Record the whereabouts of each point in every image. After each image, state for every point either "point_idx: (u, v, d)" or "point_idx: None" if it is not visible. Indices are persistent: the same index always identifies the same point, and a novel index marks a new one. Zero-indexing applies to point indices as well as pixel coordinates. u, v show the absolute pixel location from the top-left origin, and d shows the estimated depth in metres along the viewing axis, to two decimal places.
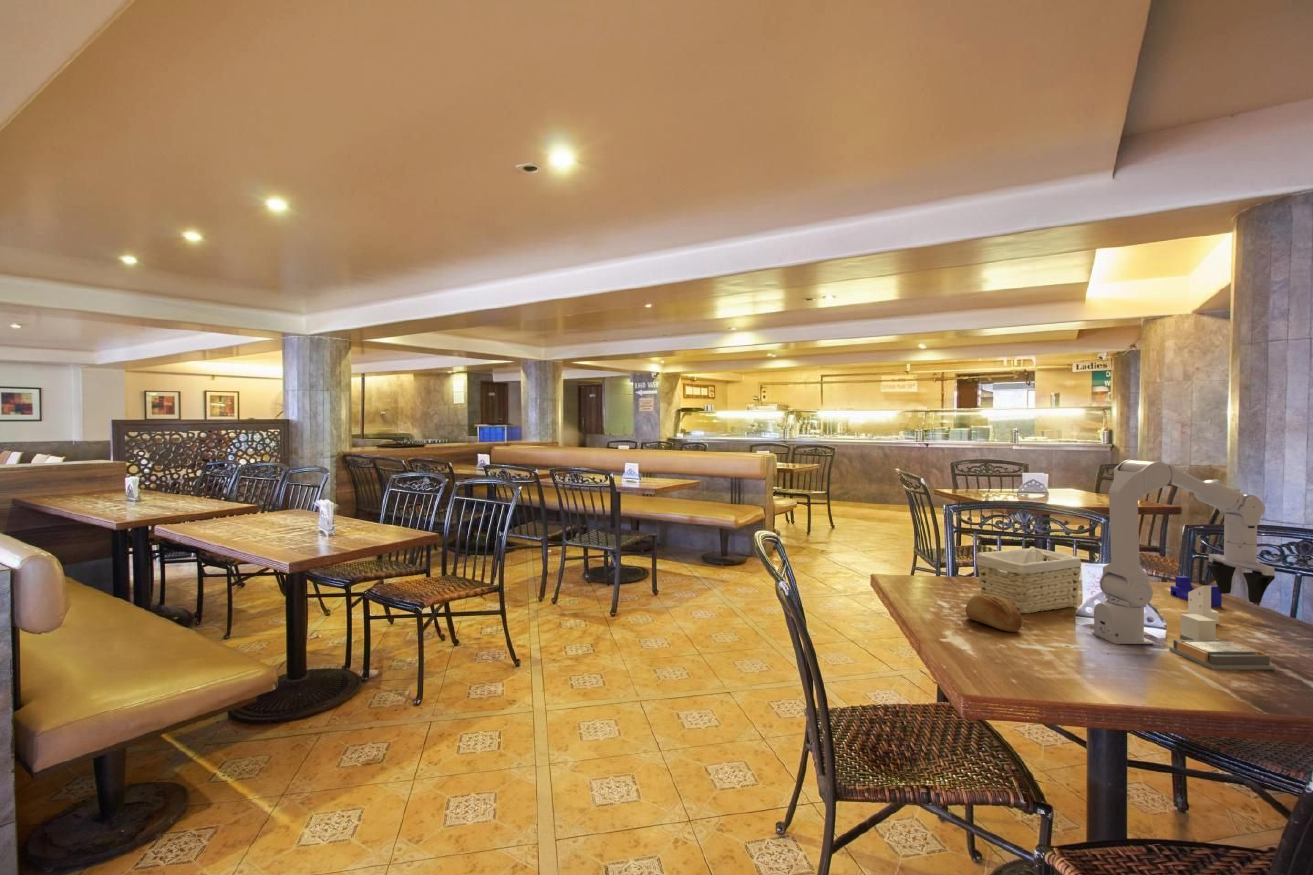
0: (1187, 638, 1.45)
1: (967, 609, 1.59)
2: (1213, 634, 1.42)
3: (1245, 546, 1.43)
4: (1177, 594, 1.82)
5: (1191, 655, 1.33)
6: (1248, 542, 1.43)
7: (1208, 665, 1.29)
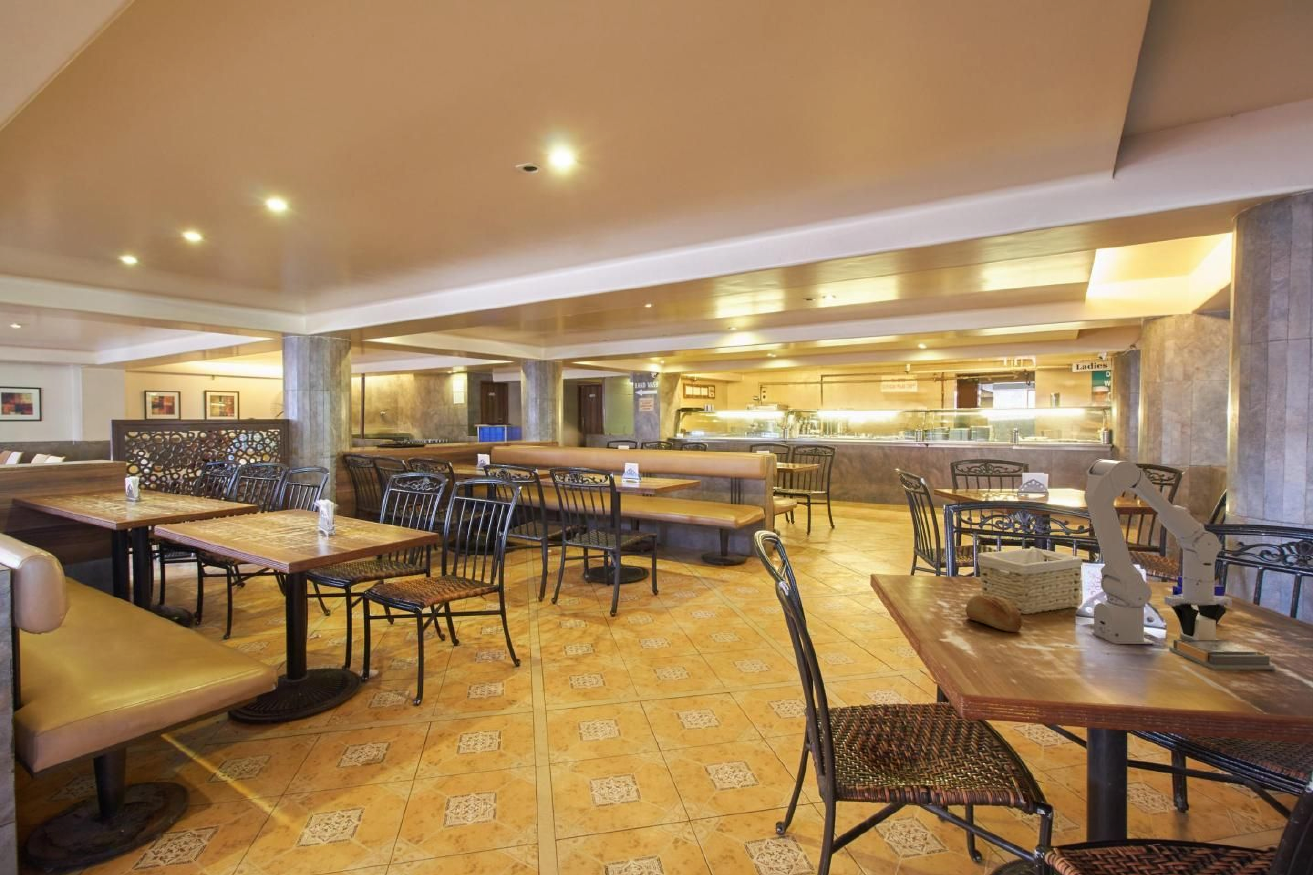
0: (1187, 638, 1.45)
1: (967, 609, 1.59)
2: (1213, 634, 1.42)
3: (1183, 579, 1.45)
4: (1179, 594, 1.82)
5: (1191, 655, 1.33)
6: (1203, 579, 1.41)
7: (1208, 665, 1.29)
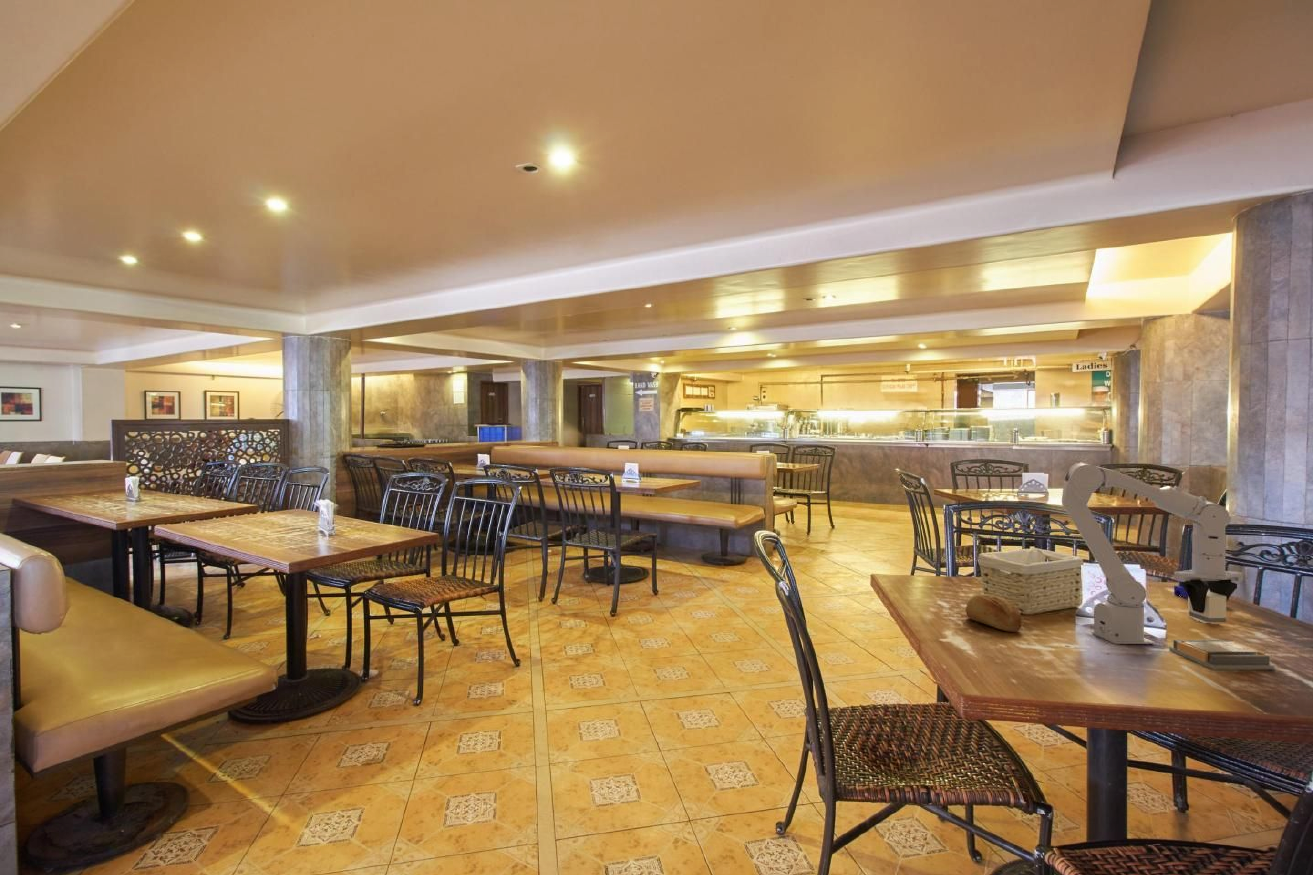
0: (1197, 615, 1.39)
1: (967, 609, 1.59)
2: (1224, 610, 1.36)
3: (1192, 554, 1.40)
4: (1181, 594, 1.82)
5: (1191, 655, 1.33)
6: (1208, 553, 1.36)
7: (1208, 665, 1.29)
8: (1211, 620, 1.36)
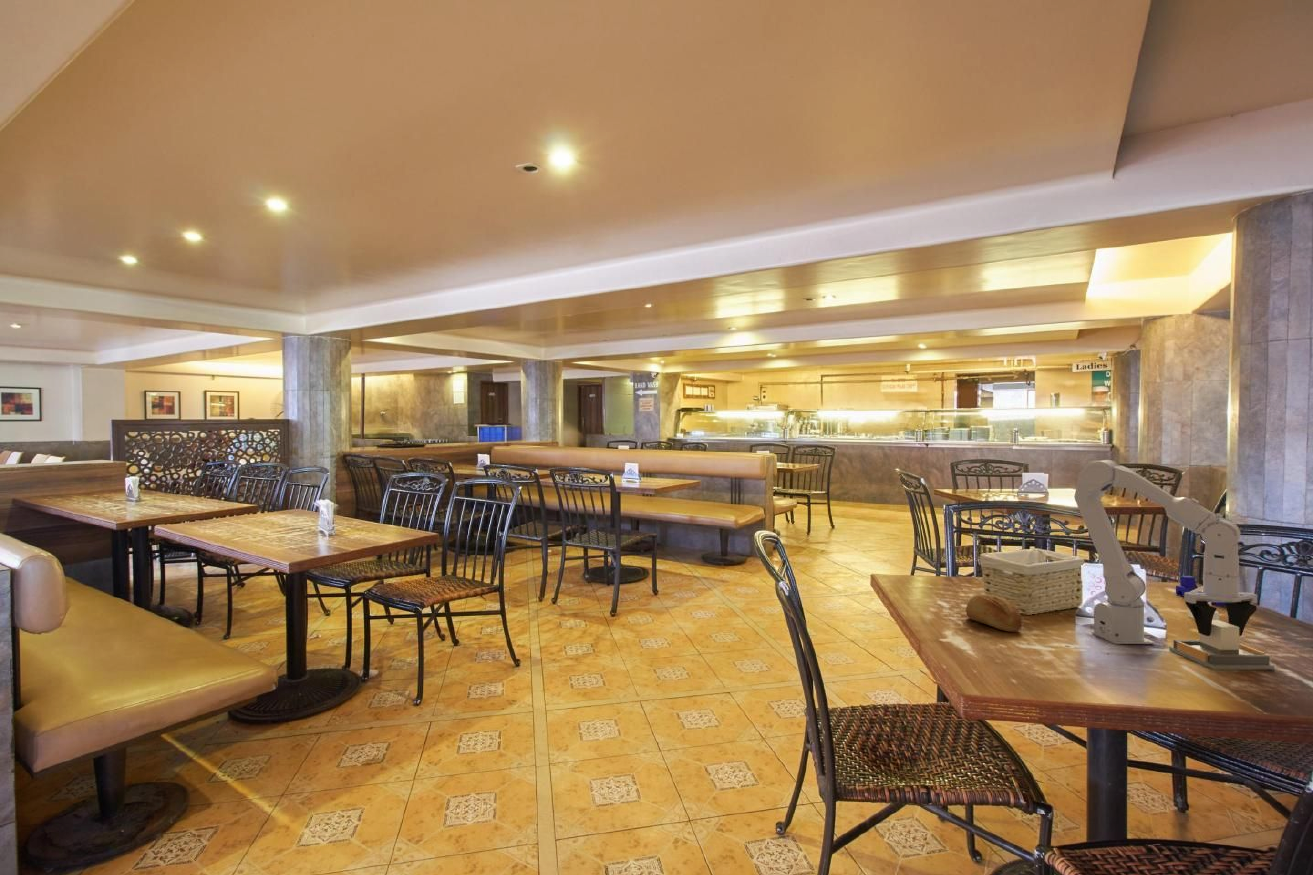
0: (1208, 646, 1.34)
1: (967, 609, 1.59)
2: (1236, 642, 1.31)
3: (1204, 574, 1.34)
4: (1183, 594, 1.82)
5: (1191, 655, 1.33)
6: (1214, 573, 1.32)
7: (1208, 665, 1.29)
8: (1223, 652, 1.31)
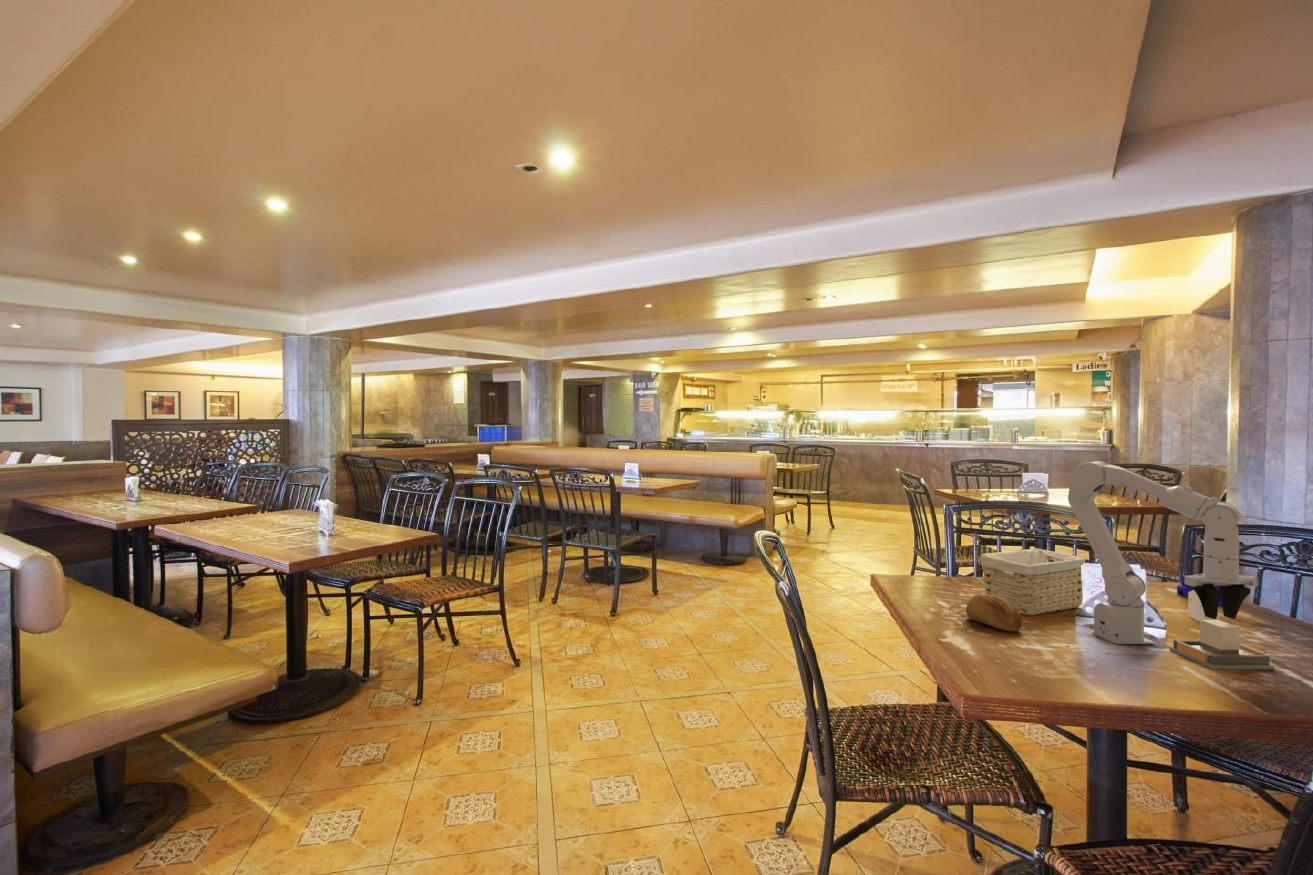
0: (1208, 646, 1.34)
1: (967, 609, 1.59)
2: (1236, 642, 1.31)
3: (1204, 558, 1.34)
4: (1184, 594, 1.82)
5: (1191, 655, 1.33)
6: (1214, 555, 1.31)
7: (1208, 665, 1.29)
8: (1223, 652, 1.31)
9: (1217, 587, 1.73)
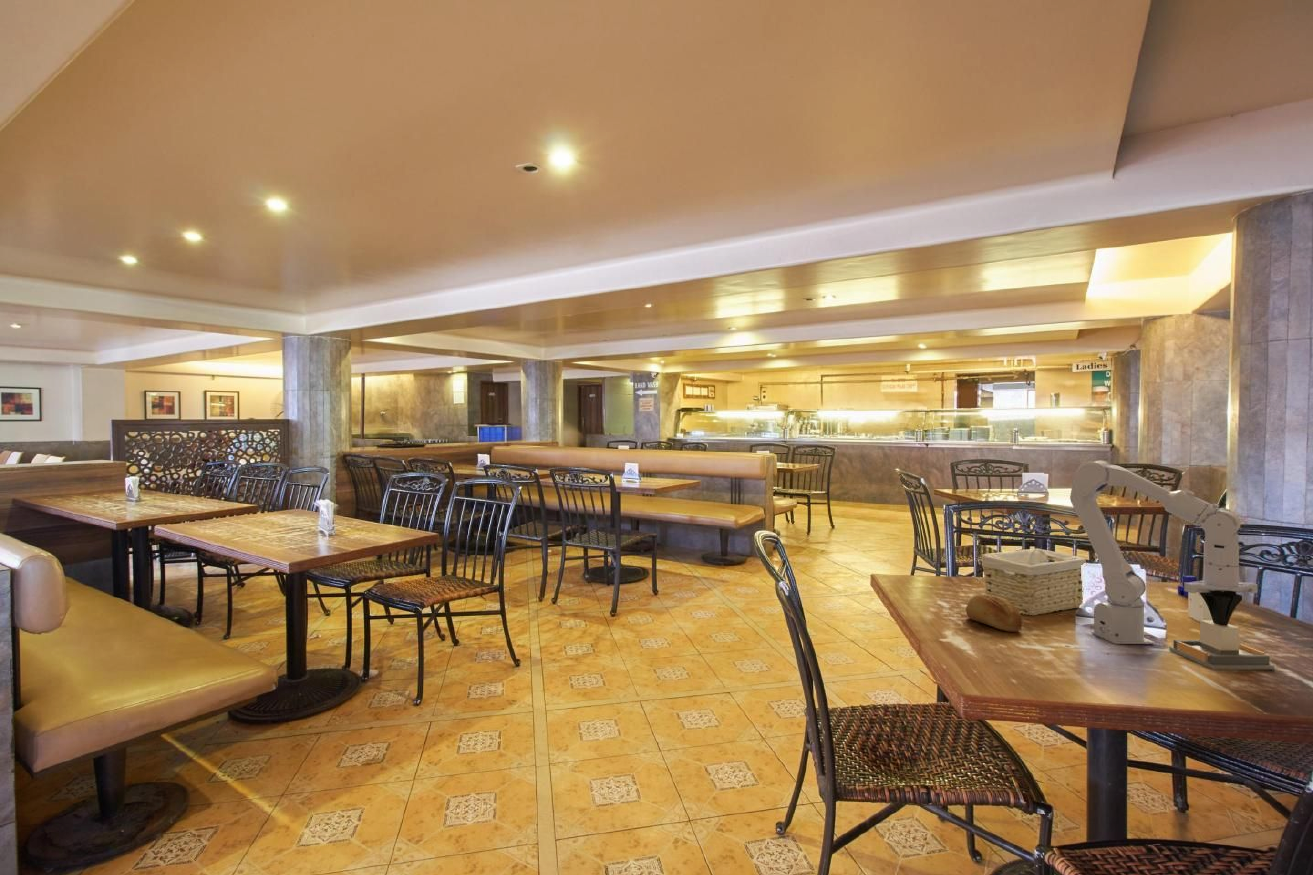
0: (1208, 646, 1.34)
1: (967, 609, 1.59)
2: (1236, 642, 1.31)
3: (1204, 564, 1.34)
4: (1185, 594, 1.82)
5: (1191, 655, 1.33)
6: (1214, 562, 1.31)
7: (1208, 665, 1.29)
8: (1223, 652, 1.31)
9: None
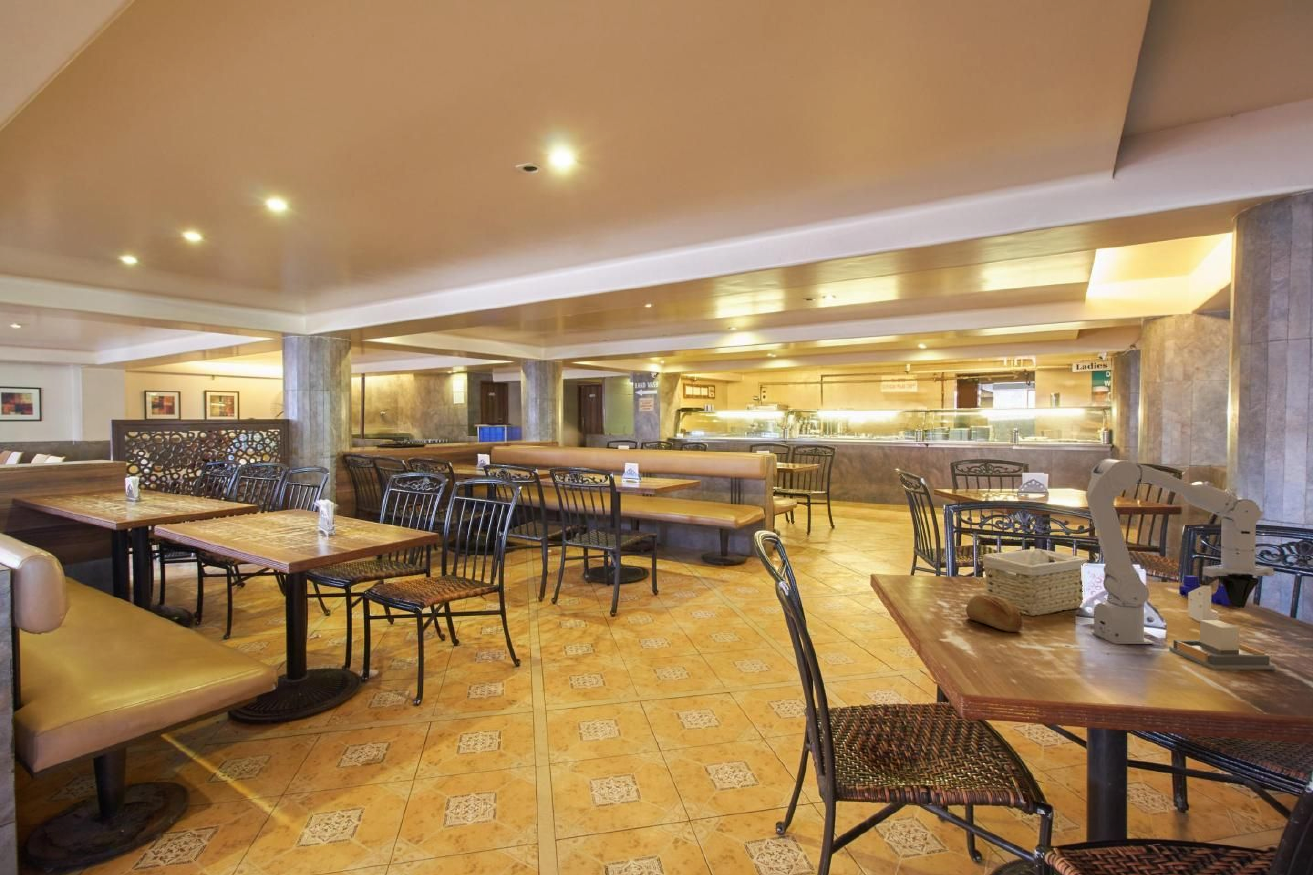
0: (1208, 646, 1.34)
1: (968, 609, 1.59)
2: (1236, 642, 1.31)
3: (1222, 549, 1.40)
4: (1186, 594, 1.82)
5: (1191, 655, 1.33)
6: (1241, 548, 1.36)
7: (1208, 665, 1.29)
8: (1223, 652, 1.31)
9: (1221, 587, 1.73)
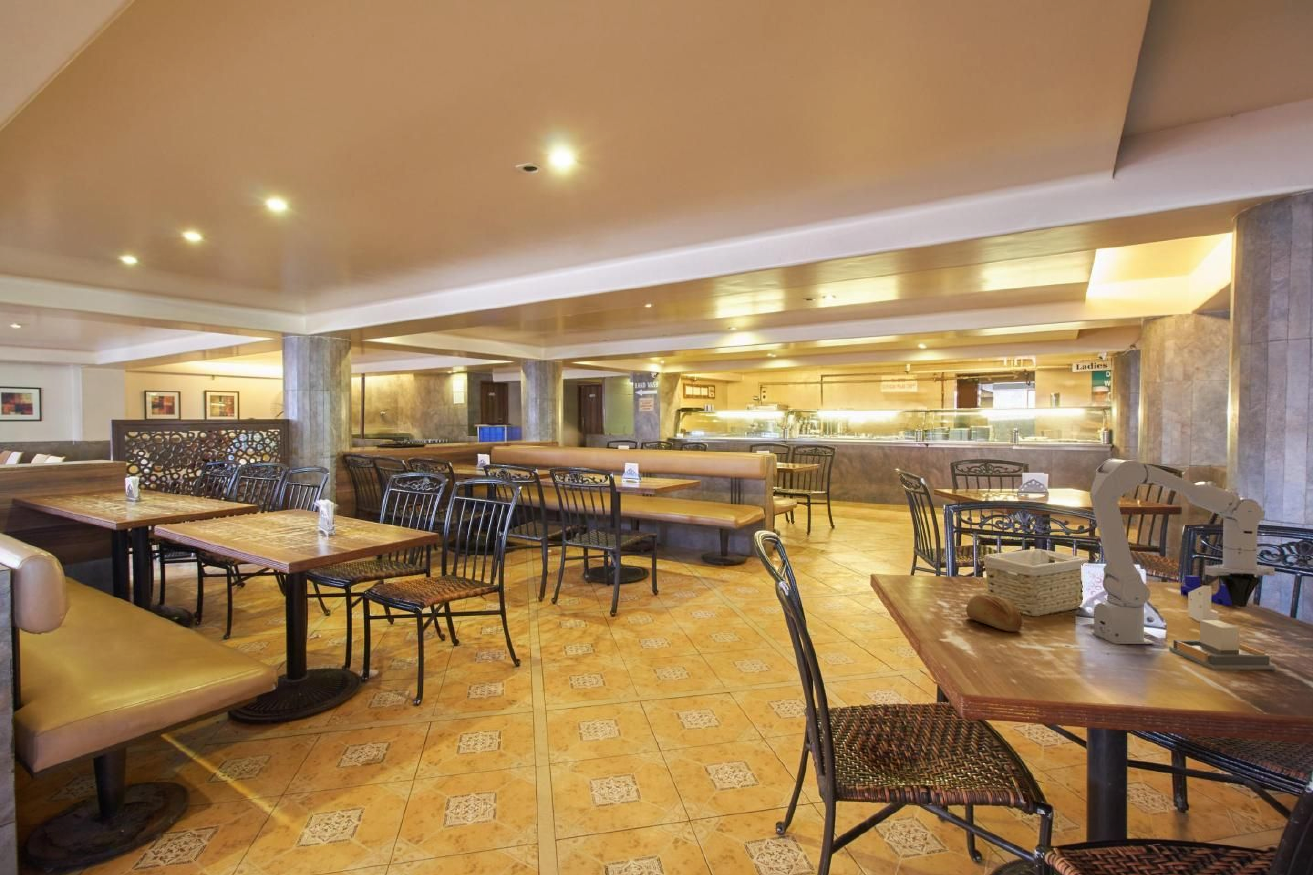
0: (1208, 646, 1.34)
1: (968, 609, 1.59)
2: (1236, 642, 1.31)
3: (1223, 549, 1.41)
4: None
5: (1191, 655, 1.33)
6: (1244, 548, 1.37)
7: (1208, 665, 1.29)
8: (1223, 652, 1.31)
9: (1222, 587, 1.73)
